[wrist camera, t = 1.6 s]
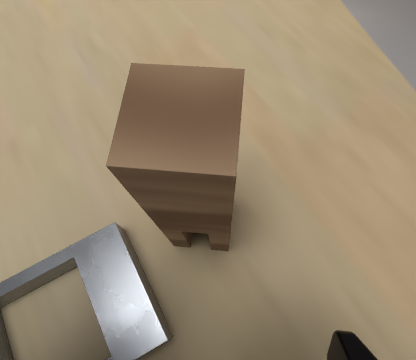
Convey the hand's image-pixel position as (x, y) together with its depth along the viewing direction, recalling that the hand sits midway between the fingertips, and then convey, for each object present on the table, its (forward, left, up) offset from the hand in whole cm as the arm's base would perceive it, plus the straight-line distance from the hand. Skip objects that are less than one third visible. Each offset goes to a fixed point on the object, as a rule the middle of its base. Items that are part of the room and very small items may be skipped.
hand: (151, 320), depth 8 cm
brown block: (+5, -3, -12) cm, 13 cm away
